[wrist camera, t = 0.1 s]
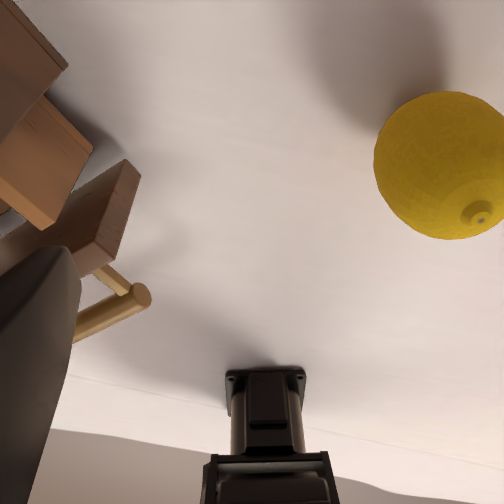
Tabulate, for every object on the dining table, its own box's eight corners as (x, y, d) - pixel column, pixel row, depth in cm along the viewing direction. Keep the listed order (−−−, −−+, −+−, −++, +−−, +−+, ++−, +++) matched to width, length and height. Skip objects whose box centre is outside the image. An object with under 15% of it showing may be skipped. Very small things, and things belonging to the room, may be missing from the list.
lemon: (337, 152, 23) (374, 255, 17) (398, 46, 19) (471, 126, 13) (427, 184, 24) (490, 289, 18) (497, 90, 21) (604, 181, 15)
